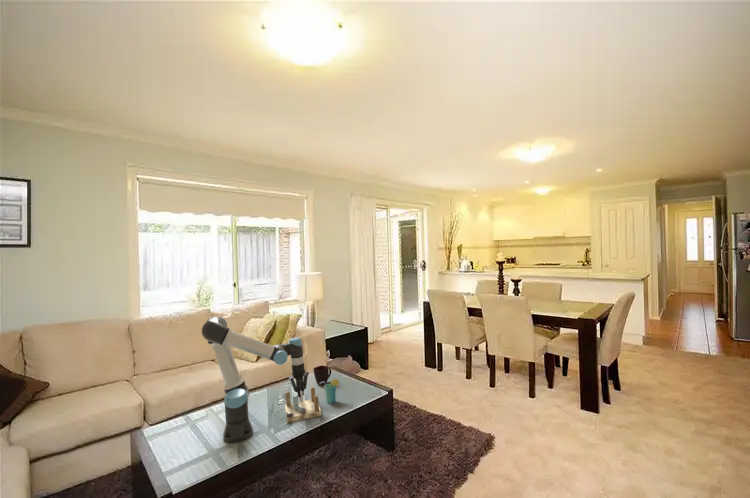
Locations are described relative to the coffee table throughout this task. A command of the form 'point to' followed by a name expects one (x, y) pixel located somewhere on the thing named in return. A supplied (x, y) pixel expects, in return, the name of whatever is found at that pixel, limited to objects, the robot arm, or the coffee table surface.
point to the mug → (322, 374)
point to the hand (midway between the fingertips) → (301, 401)
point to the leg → (297, 404)
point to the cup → (331, 390)
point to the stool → (310, 406)
